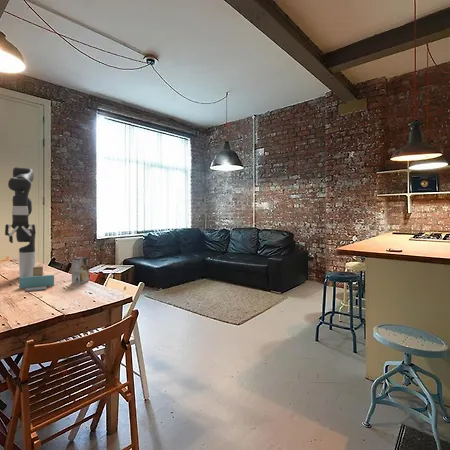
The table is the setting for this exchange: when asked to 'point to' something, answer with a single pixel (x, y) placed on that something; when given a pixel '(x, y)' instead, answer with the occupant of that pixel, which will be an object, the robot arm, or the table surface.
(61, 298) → the table surface
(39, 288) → the dark gray upright panel
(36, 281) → the teal board
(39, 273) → the wooden block
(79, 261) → the coffee box
